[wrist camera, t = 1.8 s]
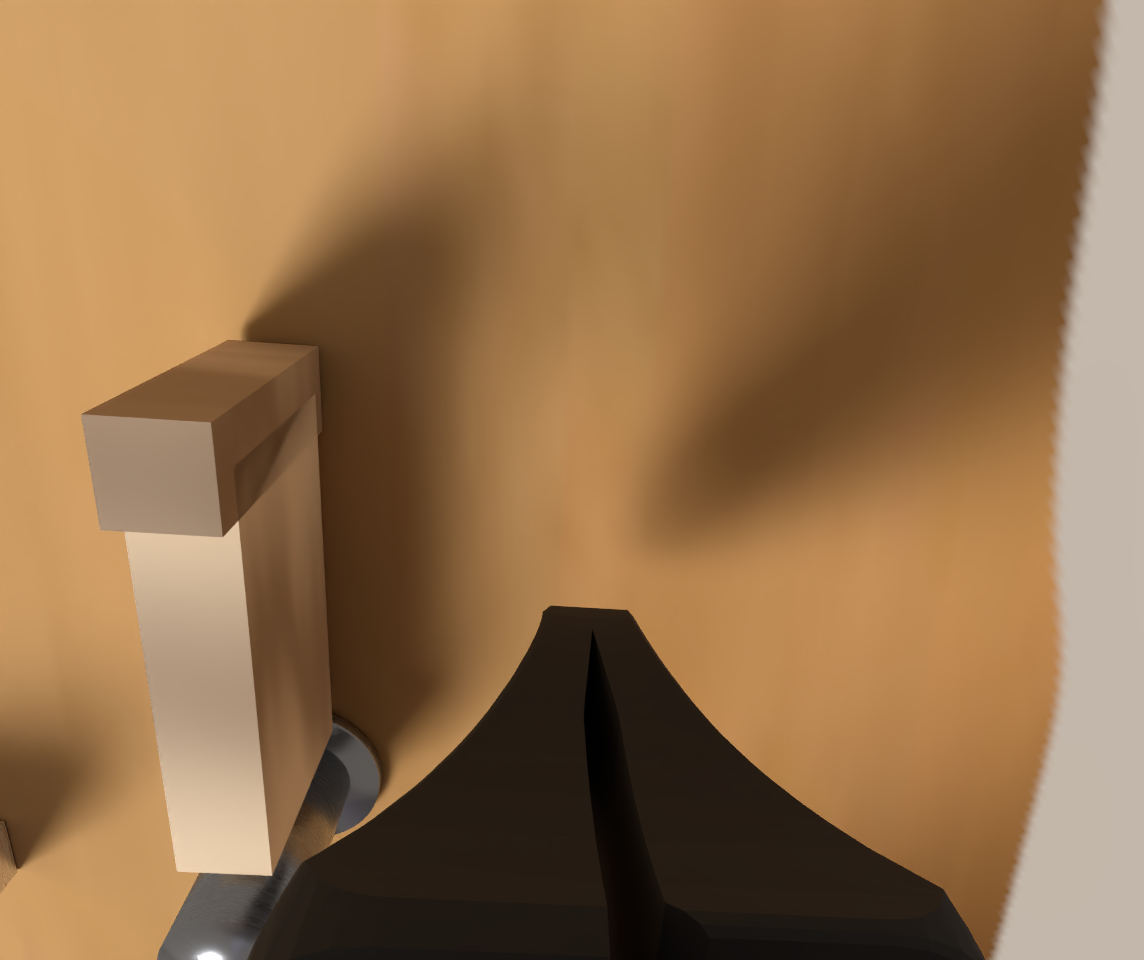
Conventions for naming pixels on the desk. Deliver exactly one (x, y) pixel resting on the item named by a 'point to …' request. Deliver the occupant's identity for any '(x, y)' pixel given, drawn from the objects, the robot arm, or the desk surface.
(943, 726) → the desk surface
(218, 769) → the light wooden bar
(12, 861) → the white-faced wooden block
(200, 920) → the pivot post
